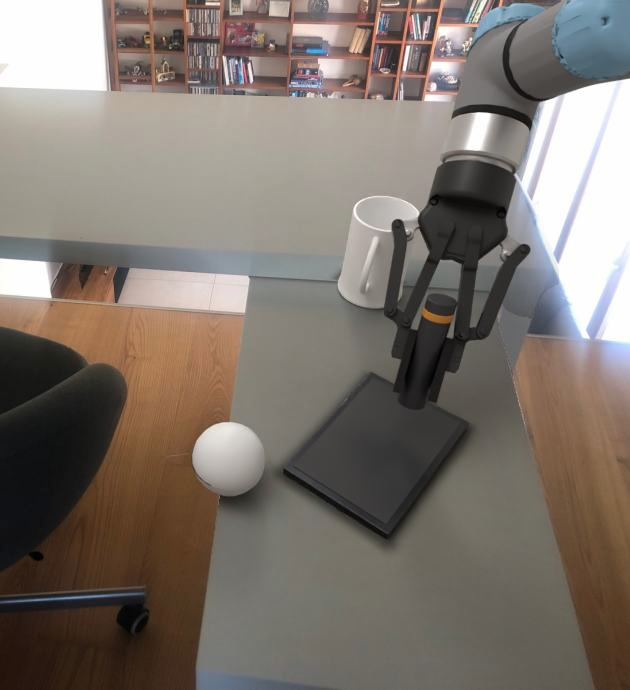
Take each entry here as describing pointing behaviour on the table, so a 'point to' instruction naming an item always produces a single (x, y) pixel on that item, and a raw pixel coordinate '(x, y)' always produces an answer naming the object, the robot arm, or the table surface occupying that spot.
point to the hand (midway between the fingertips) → (413, 396)
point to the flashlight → (427, 350)
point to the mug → (373, 250)
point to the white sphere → (228, 459)
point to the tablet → (375, 454)
